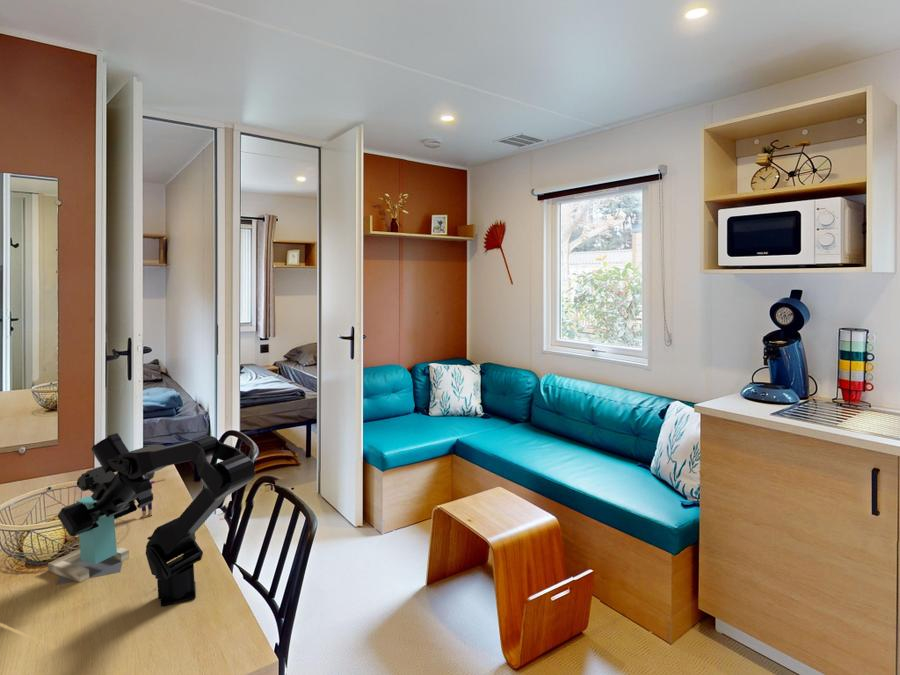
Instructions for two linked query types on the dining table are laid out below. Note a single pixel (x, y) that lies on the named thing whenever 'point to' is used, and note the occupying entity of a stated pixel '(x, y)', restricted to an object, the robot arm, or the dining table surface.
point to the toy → (151, 491)
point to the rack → (77, 573)
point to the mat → (96, 569)
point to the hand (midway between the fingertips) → (93, 526)
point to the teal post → (98, 537)
